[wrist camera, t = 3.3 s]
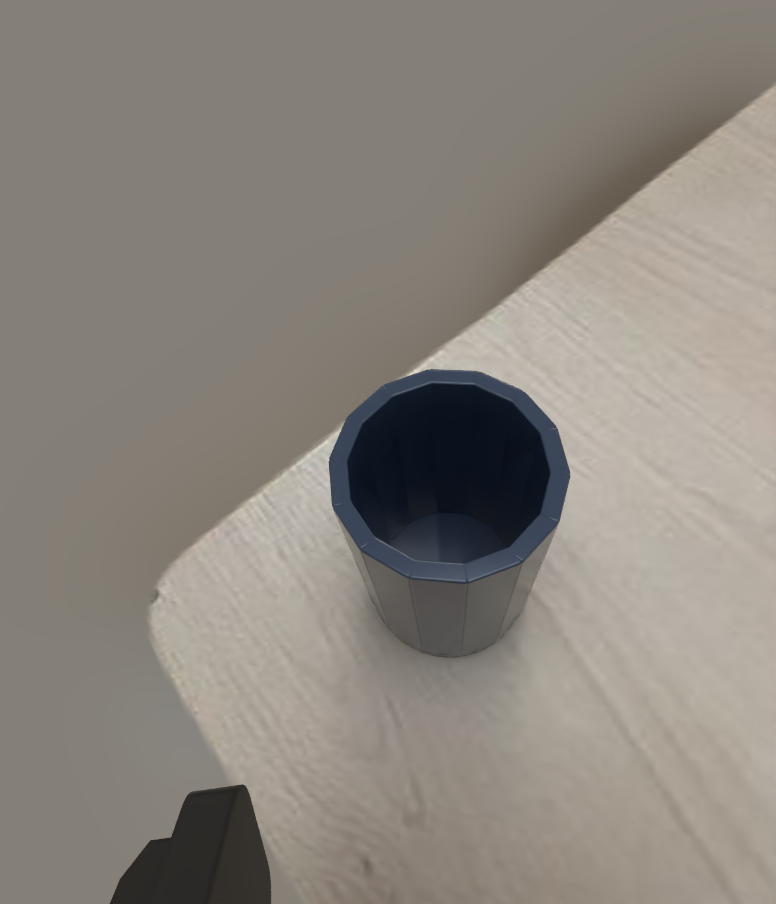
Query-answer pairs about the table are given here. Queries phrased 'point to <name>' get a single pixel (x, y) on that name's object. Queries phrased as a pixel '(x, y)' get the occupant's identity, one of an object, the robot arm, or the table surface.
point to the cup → (448, 504)
